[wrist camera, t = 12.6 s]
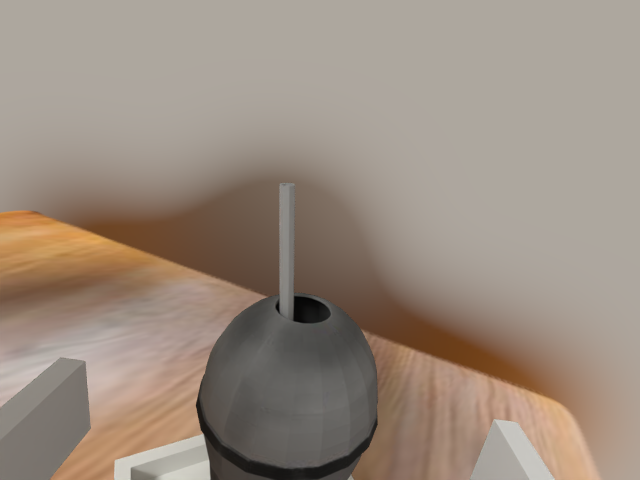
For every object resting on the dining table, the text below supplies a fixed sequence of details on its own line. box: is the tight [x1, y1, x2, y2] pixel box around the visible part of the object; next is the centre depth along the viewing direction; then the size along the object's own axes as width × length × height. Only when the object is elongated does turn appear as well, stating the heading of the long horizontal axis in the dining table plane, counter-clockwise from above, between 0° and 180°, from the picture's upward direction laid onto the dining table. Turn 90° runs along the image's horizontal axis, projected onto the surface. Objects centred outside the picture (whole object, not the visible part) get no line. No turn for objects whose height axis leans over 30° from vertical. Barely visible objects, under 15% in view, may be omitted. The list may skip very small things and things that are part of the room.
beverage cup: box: [196, 183, 378, 480], centre depth 14 cm, size 7×7×20 cm
